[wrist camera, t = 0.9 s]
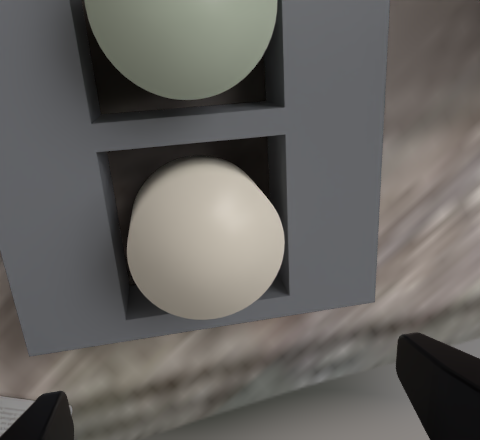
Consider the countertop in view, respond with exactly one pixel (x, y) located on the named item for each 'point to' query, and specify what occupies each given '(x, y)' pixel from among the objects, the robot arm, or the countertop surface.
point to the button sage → (183, 42)
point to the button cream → (203, 239)
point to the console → (185, 132)
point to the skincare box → (13, 411)
